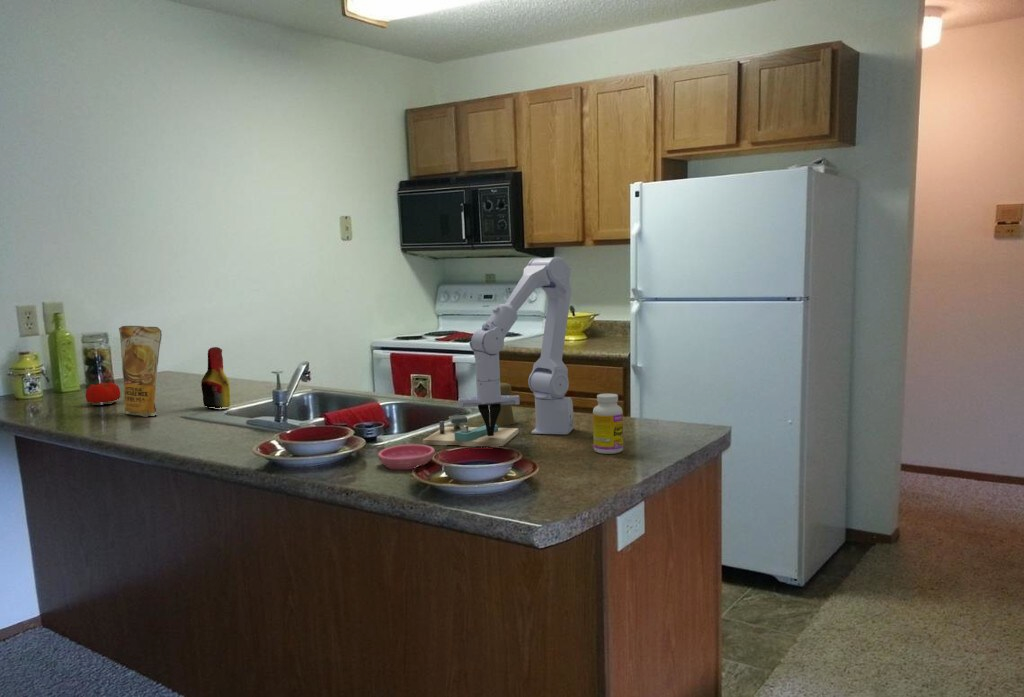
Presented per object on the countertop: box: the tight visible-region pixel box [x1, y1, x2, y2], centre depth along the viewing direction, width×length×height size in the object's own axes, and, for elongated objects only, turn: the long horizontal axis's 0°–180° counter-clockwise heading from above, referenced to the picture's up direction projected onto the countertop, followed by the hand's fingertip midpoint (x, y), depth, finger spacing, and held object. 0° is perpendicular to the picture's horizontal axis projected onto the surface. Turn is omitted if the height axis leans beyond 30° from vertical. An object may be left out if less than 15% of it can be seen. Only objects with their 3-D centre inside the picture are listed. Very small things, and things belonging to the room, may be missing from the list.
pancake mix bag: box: [118, 325, 162, 413], centre depth 239 cm, size 7×19×28 cm, turn 57°
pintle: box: [461, 424, 469, 433], centre depth 184 cm, size 1×1×3 cm
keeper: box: [438, 414, 468, 434], centre depth 194 cm, size 6×7×5 cm
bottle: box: [200, 346, 231, 408], centre depth 244 cm, size 12×6×20 cm, turn 52°
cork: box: [495, 382, 515, 427], centre depth 206 cm, size 6×6×11 cm
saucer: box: [377, 443, 436, 471], centre depth 168 cm, size 12×12×3 cm
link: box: [455, 424, 499, 441], centre depth 188 cm, size 13×4×2 cm, turn 144°
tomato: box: [85, 381, 121, 403], centre depth 262 cm, size 11×11×8 cm
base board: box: [422, 426, 520, 447], centre depth 190 cm, size 20×15×1 cm
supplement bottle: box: [592, 393, 624, 455], centre depth 172 cm, size 7×7×13 cm
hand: (490, 435), depth 184 cm, fingers closed
